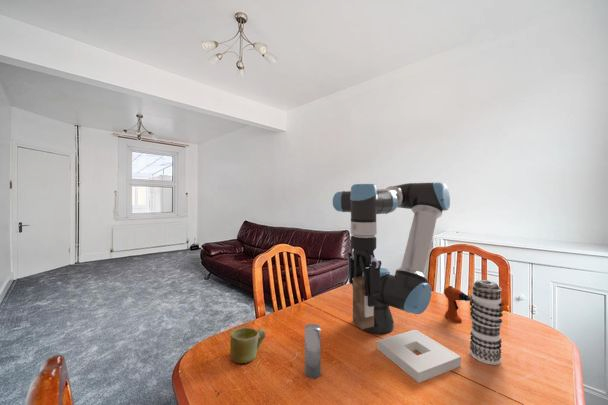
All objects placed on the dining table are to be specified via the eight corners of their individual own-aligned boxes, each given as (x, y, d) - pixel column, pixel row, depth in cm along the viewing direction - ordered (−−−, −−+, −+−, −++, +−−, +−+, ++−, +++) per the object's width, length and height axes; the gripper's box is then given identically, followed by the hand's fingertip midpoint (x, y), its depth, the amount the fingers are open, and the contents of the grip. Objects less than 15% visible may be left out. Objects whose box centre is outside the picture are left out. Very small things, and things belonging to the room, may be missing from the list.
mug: (230, 367, 78) (234, 331, 82) (224, 359, 87) (228, 326, 90) (268, 364, 83) (271, 330, 87) (259, 357, 92) (262, 326, 95)
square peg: (352, 322, 79) (352, 277, 79) (364, 319, 81) (364, 275, 81) (361, 329, 75) (361, 281, 75) (374, 326, 77) (374, 279, 76)
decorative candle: (485, 346, 91) (486, 276, 90) (510, 363, 82) (511, 286, 81) (462, 349, 90) (463, 278, 89) (485, 367, 81) (486, 288, 80)
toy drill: (474, 333, 97) (470, 294, 99) (442, 317, 115) (440, 284, 116) (485, 332, 98) (481, 293, 99) (452, 316, 116) (449, 283, 117)
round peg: (302, 370, 80) (302, 325, 79) (316, 366, 81) (316, 322, 81) (308, 380, 75) (308, 333, 75) (323, 376, 77) (323, 329, 77)
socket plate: (377, 348, 90) (377, 340, 90) (415, 337, 98) (415, 329, 98) (418, 382, 74) (418, 372, 74) (460, 366, 81) (461, 356, 81)
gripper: (337, 232, 84) (337, 303, 84) (371, 241, 68) (371, 328, 68) (356, 231, 87) (356, 299, 87) (394, 239, 71) (393, 323, 71)
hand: (363, 312), depth 78 cm, fingers closed on square peg, 4 cm apart
